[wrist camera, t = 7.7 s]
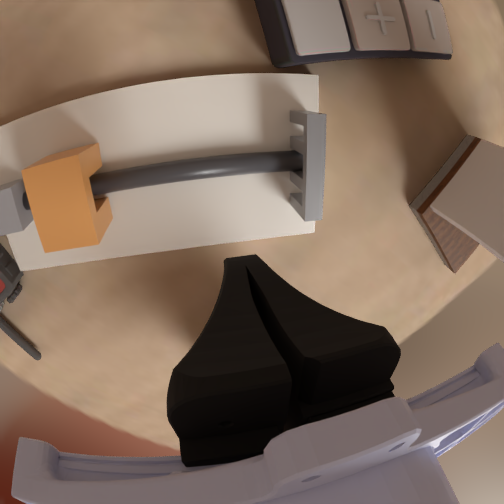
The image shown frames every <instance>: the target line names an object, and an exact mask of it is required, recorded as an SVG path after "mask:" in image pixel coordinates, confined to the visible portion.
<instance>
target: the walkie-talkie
mask: <svg viewBox="0 0 504 504" xmlns="http://www.w3.org/2000/svg"><path fill="white" fill-rule="evenodd" d="M23 275H24V274H23V271H20V269H19V267H18V264H17V263H16V262H15V261H14V259H13V258H12V257H11V256H10V255H9V253H8V252H7V251H6V250H5V249H4V247H3V246H2V245H1V244H0V311H1V310H2V308H3V305H4V302H3V301H4V300H5V299H6V298H7V297H8V298H7V301H8V302H9V303H12V302H13V301H14V300H15V299H16V297H17V296H18V295H19V293H20V292H21V290H22V286H21V285H20V284H18V285H17V283H18V282H19V280H20V279H21V277H22V276H23ZM0 328H1V329H2V330H3V331H4V332H5V333H6V334H7V335H8V336H9V337H10V338H11V339H13V340H14V341H15V342H16V343H17V344H18V345H19V346H20V347H21V348H23V349H24V350H25V351H26V352H27V353H28V354H30V355H31V356H32V357H33V358H34V359H35V360H40V359H41V353H40V352H39V351H38V350H36V349H35V348H34V347H33V346H32V345H31V344H30V343H28V342H27V341H26V340H25V339H24V338H23V337H22V336H21V335H20V334H18V333H17V332H16V331H15V330H14V329H13V328H12V327H11V326H10V325H9V324H8V323H7V322H6V321H5V320H4V319H3V318H2V317H1V316H0Z"/></svg>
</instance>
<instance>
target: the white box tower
mask: <svg viewBox="0 0 504 504" xmlns="http://www.w3.org/2000/svg"><path fill="white" fill-rule="evenodd" d="M409 207H410V208H411V210H412V211H413V213H414V214H415V216H416V217H417V219H418V221H419V222H420V224H421V225H422V227H423V228H424V230H425V232H426V233H427V235H428V237H429V238H430V240H431V242H432V243H433V245H434V247H435V248H436V250H437V252H438V254H439V255H440V257H441V259H442V261H443V263H444V264H445V265H446V266H447V267H448V268H449V269H450V270H451V271H452V272H454V273H456V272H457V271H458V270H459V268H460V267H461V266H462V265H463V264H464V263H465V261H466V260H467V259H468V258H469V256H470V255H471V254H472V253H473V252H474V250H475V249H476V248H477V247H478V245H479V244H481V245H482V246H483V247H485V248H486V249H487V250H489V251H490V252H491V253H492V254H494V255H495V256H496V257H497V258H499V259H500V260H501V261H502V262H504V147H501V146H499V145H496V144H493V143H491V142H488V141H485V140H482V139H480V138H477V137H474V136H471V135H468V134H467V135H466V137H465V138H464V139H463V141H462V142H461V143H460V145H459V146H458V147H457V149H456V150H455V151H454V152H453V154H452V155H451V156H450V157H449V159H448V160H447V161H446V162H445V164H444V165H443V166H442V167H441V169H440V170H439V171H438V172H437V174H436V175H435V176H434V177H433V178H432V180H431V181H430V182H429V183H428V184H427V186H426V187H425V188H424V189H423V190H422V191H421V193H420V194H419V195H418V196H417V197H416V198H415V200H414V201H413V202H412V203H411V204H410V205H409Z"/></svg>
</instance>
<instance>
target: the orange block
mask: <svg viewBox="0 0 504 504" xmlns="http://www.w3.org/2000/svg"><path fill="white" fill-rule="evenodd" d="M100 167H102V161H101V155H100V148H99V143H95V144H90V145H86V146H82V147H78V148H74V149H70V150H66V151H62V152H59V153H55V154H52V155H48V156H46V157H44V158H42V159H41V160H39V161H37V162H35V163H33V164H32V165H30V166H28V167H26V168H25V169H23V170H21V172H22V177H23V181H24V185H25V189H26V193H27V197H28V201H29V205H30V208H31V212H32V215H33V219H34V222H35V225H36V228H37V231H38V234H39V237H40V240H41V243H42V246H43V249H44V252H45V253H49V252H55V251H61V250H67V249H73V248H80V247H86V246H93V245H99V244H100V242H101V240H102V238H103V236H104V234H105V232H106V230H107V228H108V226H109V225H110V223H111V221H112V219H113V216H112V211H111V207H110V202H109V198H108V197H104V198H98V199H94V198H93V194H92V189H91V185H90V180H89V177H90V176H91V175H93V174H94V173H95V172H96V171H97V170H98V169H99V168H100Z"/></svg>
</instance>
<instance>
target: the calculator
mask: <svg viewBox="0 0 504 504" xmlns="http://www.w3.org/2000/svg"><path fill="white" fill-rule="evenodd" d="M255 3H256V7H257V10H258V14H259V17H260V21H261V24H262V28H263V31H264V35H265V38H266V42H267V46H268V50H269V53H270V57H271V61H272V64H273V65H274V66H275V67H277V68H282V67H289V66H295V65H302V64H310V63H318V62H327V61H336V60H349V59H368V58H417V59H444V60H449V59H451V57H452V55H451V54H452V53H453V50H452V44H451V39H450V34H449V30H448V25H447V21H446V17H445V13H444V9H443V6H442V4H441V3H440V1H439V0H255Z"/></svg>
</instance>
